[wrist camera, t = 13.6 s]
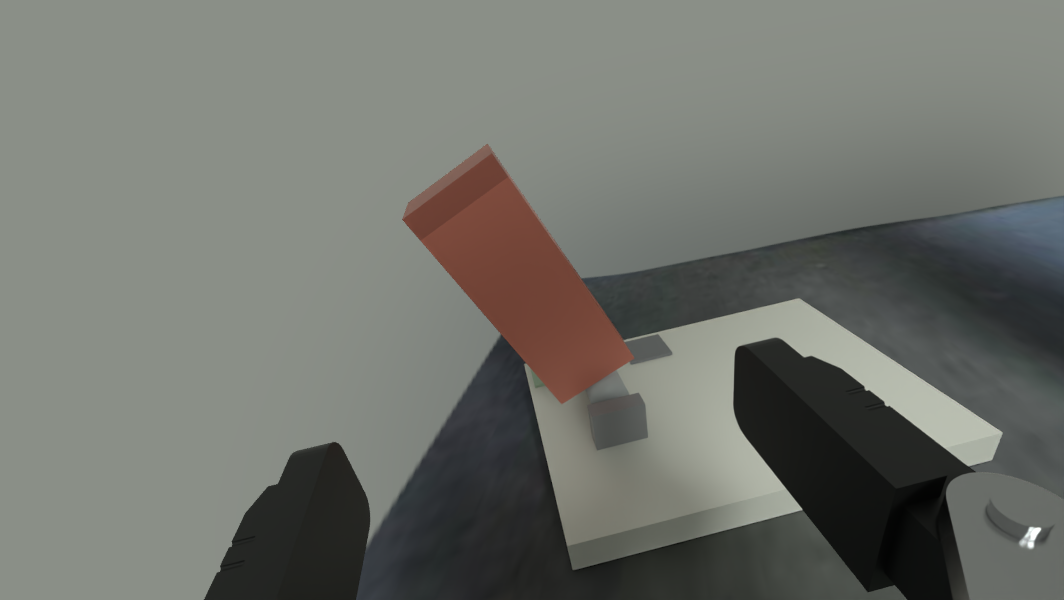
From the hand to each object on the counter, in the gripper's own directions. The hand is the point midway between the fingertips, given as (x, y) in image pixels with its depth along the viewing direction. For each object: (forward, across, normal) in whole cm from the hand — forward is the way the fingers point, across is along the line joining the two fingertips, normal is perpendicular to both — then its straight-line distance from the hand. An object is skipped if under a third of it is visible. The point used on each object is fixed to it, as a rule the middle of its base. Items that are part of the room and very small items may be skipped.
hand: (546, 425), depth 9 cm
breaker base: (+10, -9, +11) cm, 17 cm away
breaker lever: (+11, -3, +8) cm, 14 cm away
